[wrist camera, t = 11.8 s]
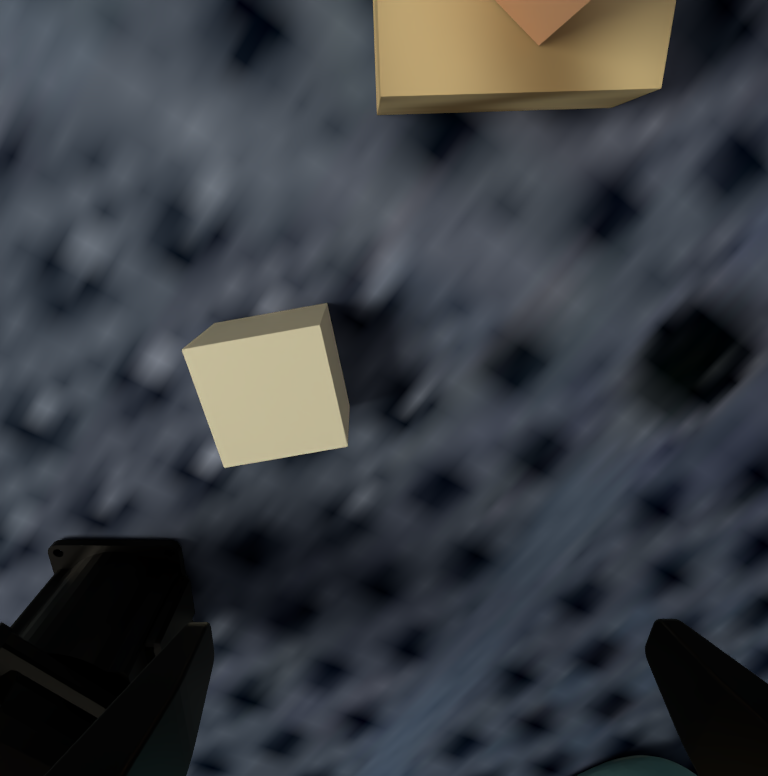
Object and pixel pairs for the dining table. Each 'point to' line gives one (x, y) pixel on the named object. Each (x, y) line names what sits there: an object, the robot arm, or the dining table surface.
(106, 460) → the dining table surface
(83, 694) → the robot arm
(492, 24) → the base brick
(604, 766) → the casserole dish
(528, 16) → the pillar brick
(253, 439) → the brick
